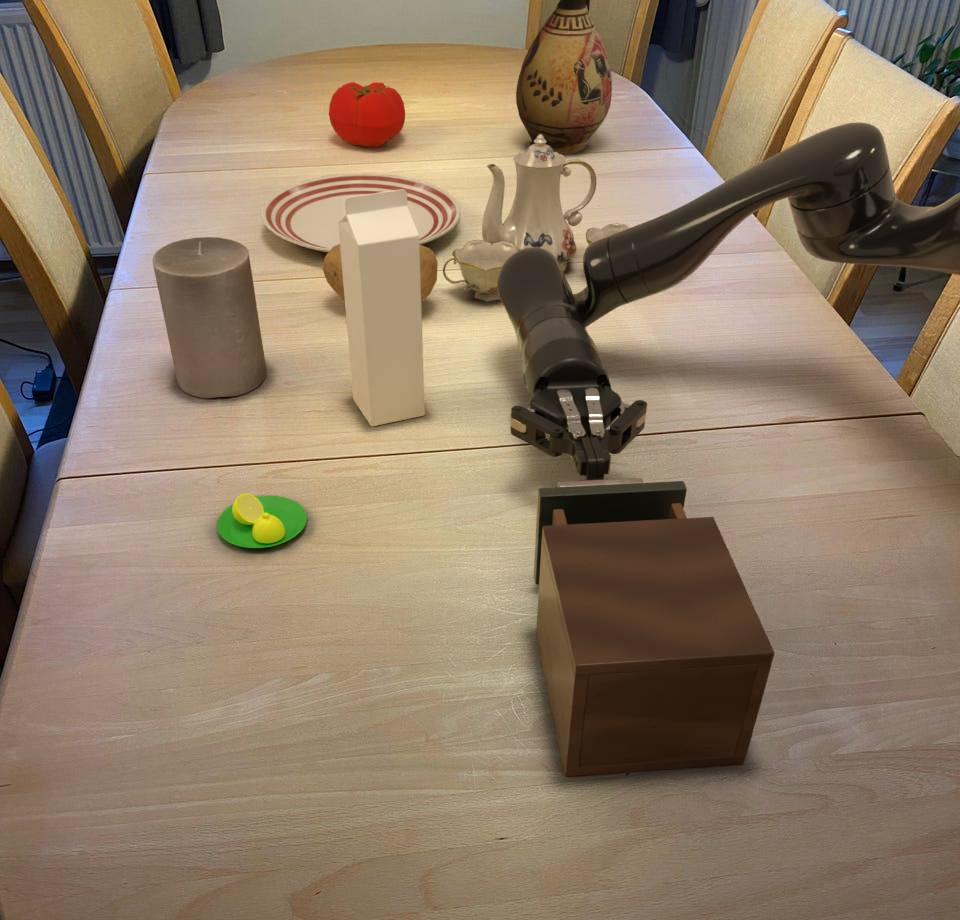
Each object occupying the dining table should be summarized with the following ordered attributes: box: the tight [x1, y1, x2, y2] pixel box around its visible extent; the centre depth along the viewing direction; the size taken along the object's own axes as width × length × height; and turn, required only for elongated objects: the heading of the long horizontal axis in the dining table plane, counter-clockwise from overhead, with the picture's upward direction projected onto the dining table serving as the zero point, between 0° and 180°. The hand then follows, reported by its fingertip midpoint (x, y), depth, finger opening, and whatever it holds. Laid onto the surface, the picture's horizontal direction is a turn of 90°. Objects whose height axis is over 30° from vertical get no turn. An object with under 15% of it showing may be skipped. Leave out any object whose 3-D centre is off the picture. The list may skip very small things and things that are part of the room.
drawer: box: [533, 477, 688, 586], centre depth 80 cm, size 18×12×9 cm, turn 6°
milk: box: [338, 189, 426, 427], centre depth 101 cm, size 6×6×22 cm
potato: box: [322, 244, 439, 304], centre depth 123 cm, size 10×14×8 cm
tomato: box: [328, 81, 406, 148], centre depth 170 cm, size 14×13×9 cm
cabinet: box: [535, 516, 775, 777], centre depth 74 cm, size 15×13×11 cm
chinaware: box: [442, 134, 630, 302], centre depth 128 cm, size 28×17×17 cm, turn 114°
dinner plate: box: [260, 172, 462, 253], centre depth 143 cm, size 27×27×3 cm
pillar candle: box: [152, 236, 268, 399], centre depth 108 cm, size 10×10×15 cm
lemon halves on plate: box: [216, 492, 308, 549], centre depth 92 cm, size 8×8×3 cm
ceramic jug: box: [515, 0, 613, 155], centre depth 162 cm, size 17×15×30 cm
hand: (596, 471), depth 86 cm, fingers closed
